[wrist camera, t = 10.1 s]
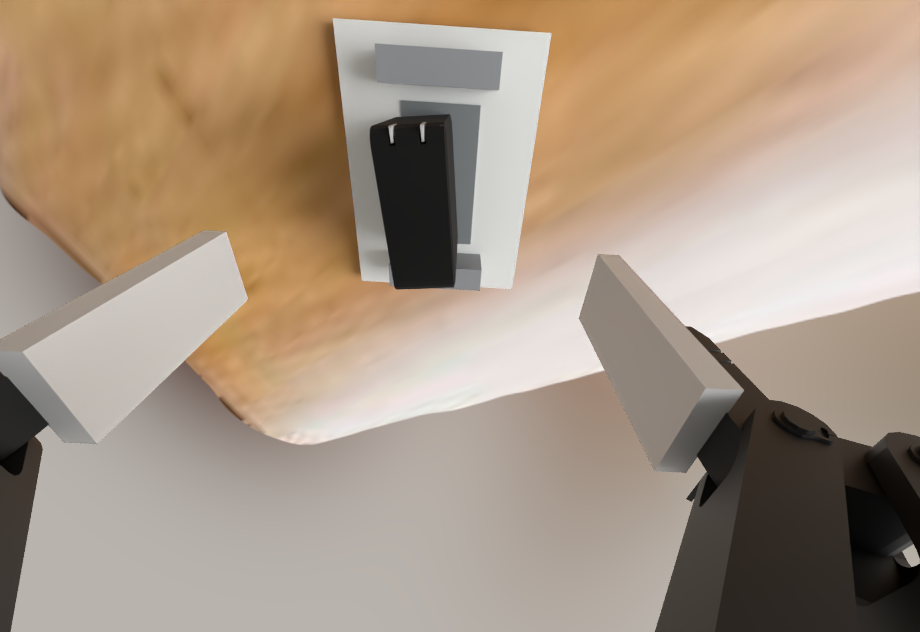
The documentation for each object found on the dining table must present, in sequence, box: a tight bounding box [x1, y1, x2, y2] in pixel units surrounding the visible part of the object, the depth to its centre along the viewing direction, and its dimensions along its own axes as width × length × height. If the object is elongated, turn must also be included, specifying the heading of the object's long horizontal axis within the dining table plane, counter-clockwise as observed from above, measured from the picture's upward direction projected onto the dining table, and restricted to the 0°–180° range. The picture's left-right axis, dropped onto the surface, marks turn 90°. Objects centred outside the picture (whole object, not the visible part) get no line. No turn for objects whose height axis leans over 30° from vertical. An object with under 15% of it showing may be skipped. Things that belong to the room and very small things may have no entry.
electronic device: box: [370, 114, 458, 289], centre depth 25 cm, size 4×10×10 cm, turn 3°
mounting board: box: [333, 18, 551, 291], centre depth 28 cm, size 20×15×5 cm
